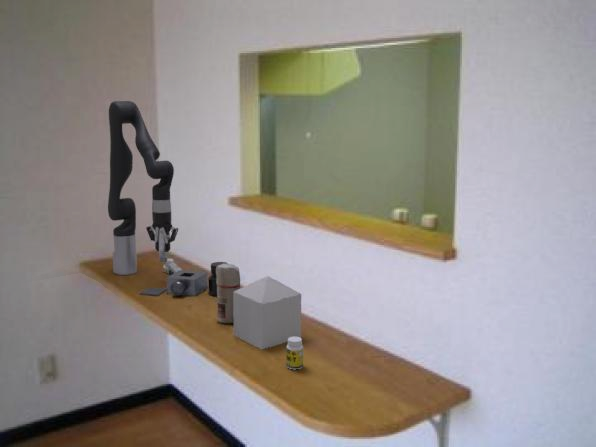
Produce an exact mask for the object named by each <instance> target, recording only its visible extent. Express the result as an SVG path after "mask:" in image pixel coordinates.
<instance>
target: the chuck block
mask: <svg viewBox="0 0 596 447" xmlns="http://www.w3.org/2000/svg"><path fill="white" fill-rule="evenodd" d="M208 288H209V281H208V271H199V270H198V271H197V270H188V269H182V270H179V271H177V272H176V273H172V274H170V275H169V276H167V277H166V289H167V291H166V292H167V293H166V294H168V295H174V296H179V295H180V296H189V297H195V296H197V295H198V294H200V293H202V292H203V291H204V290H206V289H208Z"/></svg>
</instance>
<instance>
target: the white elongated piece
mask: <svg viewBox="0 0 596 447" xmlns="http://www.w3.org/2000/svg"><path fill="white" fill-rule="evenodd" d="M164 263H165V264H163V272H164V273H165V274H168V275H169V274H170V275H172V274H174V273H176V272H177V271H179V270H183V269H182V268H181V267H180V266H178V265H177V264H176V263H175V260H174V259H173V258H169V257H167V262H164Z"/></svg>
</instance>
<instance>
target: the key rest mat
mask: <svg viewBox="0 0 596 447" xmlns="http://www.w3.org/2000/svg"><path fill="white" fill-rule="evenodd" d="M165 292H167V288H162V287H151V286H149V287H147V288H145V289H144V290H142V291H140V292H139V293H138V294H139V295H142V296H152V297H153V296H154V297H159V296H160V295H162V294H164V293H165Z"/></svg>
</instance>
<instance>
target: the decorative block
mask: <svg viewBox="0 0 596 447" xmlns="http://www.w3.org/2000/svg"><path fill="white" fill-rule="evenodd" d="M233 306H234V307H233V316H234V323H233V327H232V328H233V330H232V331H233V336H235V337H236V338H239V339H241V340H242V341H244V342H246V343H247V344H250V345H252V346H254V347H256V348H257V347H258V349H259V348H260V350H262V349H263V350H266V349H269V348H272V347H275V346H278V345H281V344H285V343H288V338H289V337H300V338H302V323H301V322H302V294H301V292H299V291H297V290H296V289H293V288H291V287H290V286H288V285H285V284H284V283H282V282H281V281H278V280H277V279H274V278H272V277H271V276H269V275H268V276H265V277H263V278H260V279H258V280H255V281H252V282H251V283H249V284H247V285H245V286H243V287H240V289H238V290H236V291H234V292H233ZM268 347H269V348H268ZM265 348H266V349H265Z"/></svg>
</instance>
